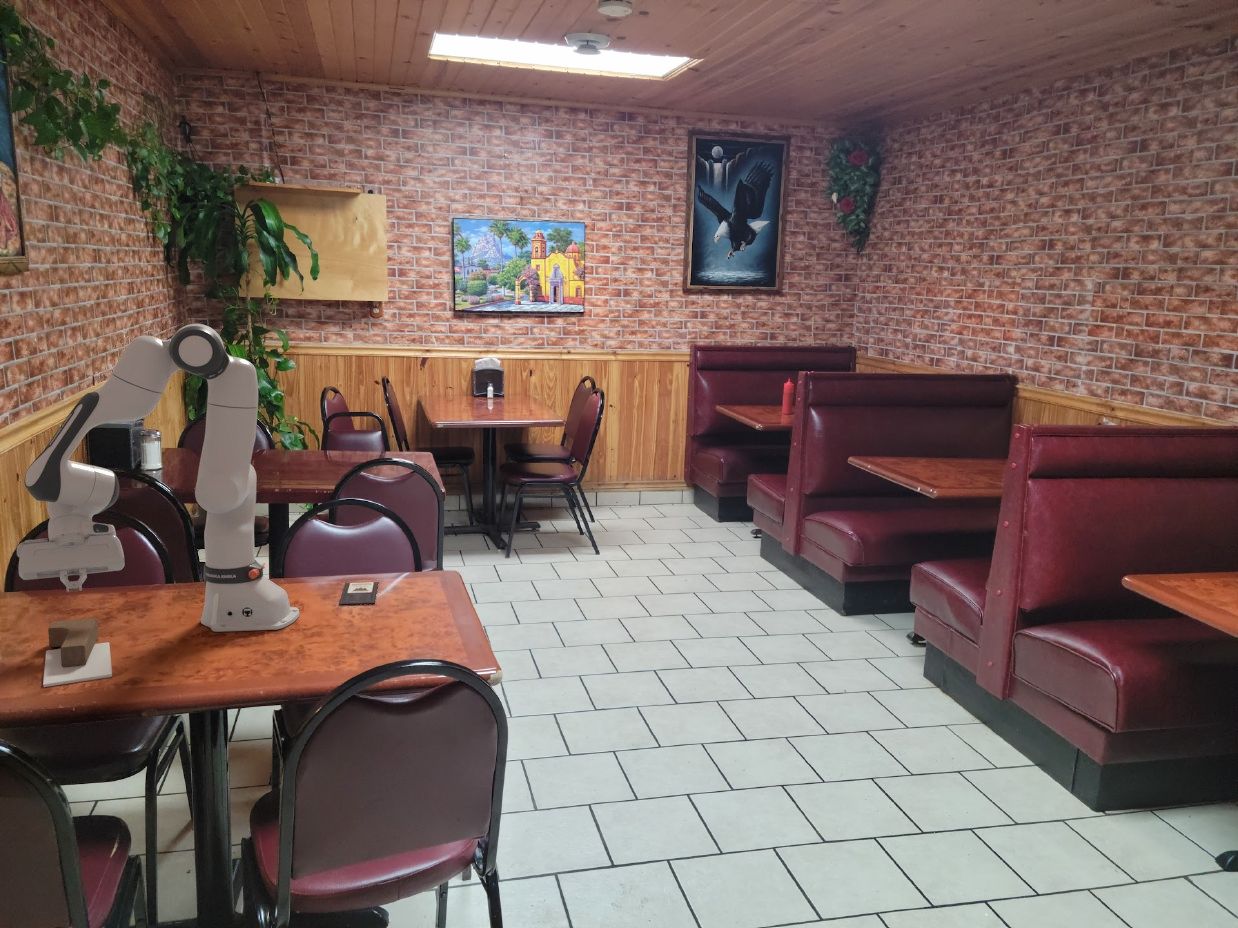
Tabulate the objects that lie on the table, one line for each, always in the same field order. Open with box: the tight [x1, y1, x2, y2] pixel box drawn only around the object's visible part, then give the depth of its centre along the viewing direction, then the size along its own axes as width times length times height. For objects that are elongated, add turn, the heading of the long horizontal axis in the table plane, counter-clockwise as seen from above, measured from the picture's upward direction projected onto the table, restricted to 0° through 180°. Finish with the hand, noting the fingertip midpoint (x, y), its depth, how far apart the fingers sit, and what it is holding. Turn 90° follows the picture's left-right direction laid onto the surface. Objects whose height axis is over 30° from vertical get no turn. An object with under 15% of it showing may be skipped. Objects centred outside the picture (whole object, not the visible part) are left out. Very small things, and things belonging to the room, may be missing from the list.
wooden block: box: [47, 617, 99, 667], centre depth 198 cm, size 9×4×18 cm
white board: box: [42, 641, 113, 688], centre depth 193 cm, size 20×12×1 cm, turn 30°
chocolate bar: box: [338, 581, 380, 606], centre depth 246 cm, size 9×1×18 cm
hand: (74, 590), depth 200 cm, fingers closed
